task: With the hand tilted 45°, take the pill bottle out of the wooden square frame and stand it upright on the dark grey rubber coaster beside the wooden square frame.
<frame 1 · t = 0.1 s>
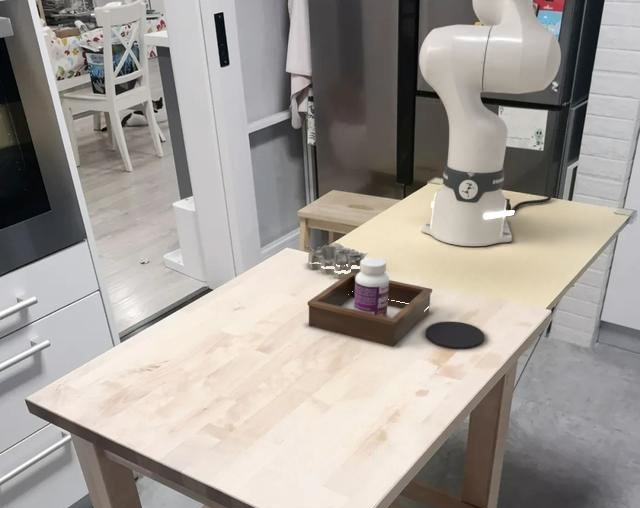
coaster: (454, 335, 111), on the table
egg carton: (335, 269, 135), on the table
pill bottle: (369, 320, 116), resting in wooden square frame
wooden square frame: (370, 319, 116), on the table
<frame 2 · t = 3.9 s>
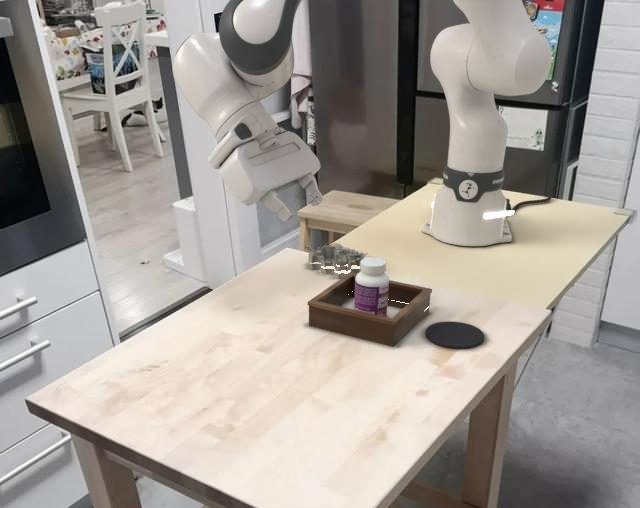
hand: (305, 210, 112), 16 cm above the table, tool tilted 45°, fingers open, 8 cm apart
nothing on the table moved.
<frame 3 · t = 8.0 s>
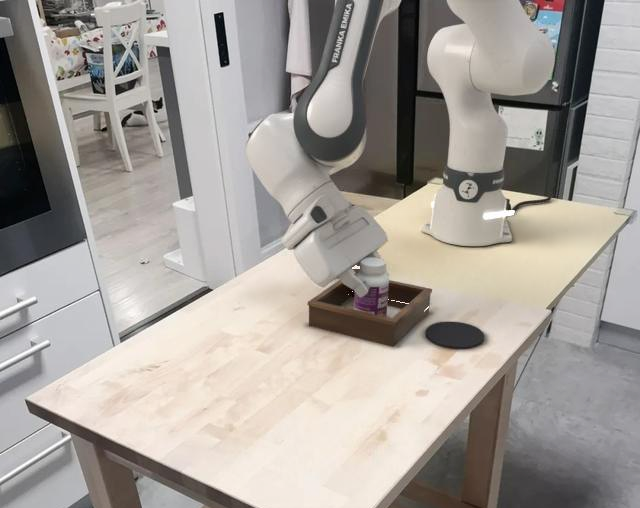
hand: (375, 287, 113), 6 cm above the table, tool tilted 45°, fingers closed on pill bottle, 5 cm apart
pill bottle: (369, 320, 116), resting in wooden square frame, touching gripper
everything else where it was.
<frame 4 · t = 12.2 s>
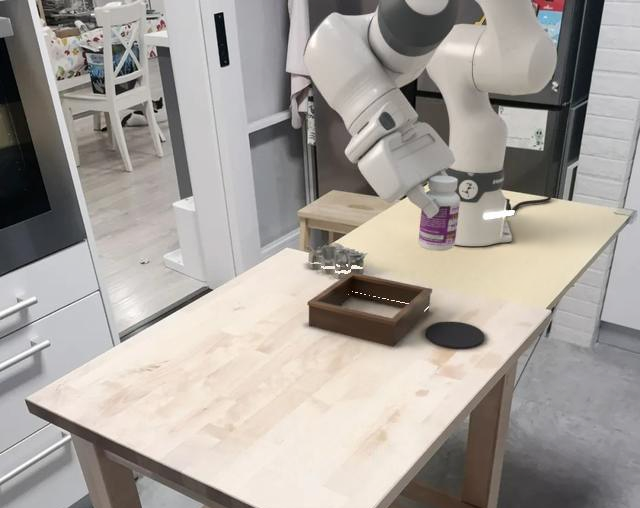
hand: (444, 208, 102), 19 cm above the table, tool tilted 45°, fingers closed on pill bottle, 5 cm apart
pill bottle: (436, 247, 105), point 13 cm above the table, touching gripper
everything else where it was.
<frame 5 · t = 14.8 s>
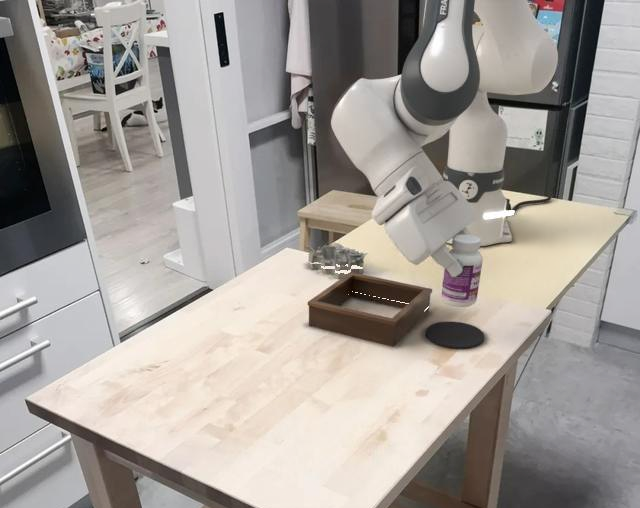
hand: (467, 266, 105), 11 cm above the table, tool tilted 45°, fingers closed on pill bottle, 5 cm apart
pill bottle: (458, 302, 108), point 6 cm above the table, touching gripper
everything else where it was.
when the fingers open (6 cm above the table, at t = 16.8 s): pill bottle stays where it is, resting on coaster.
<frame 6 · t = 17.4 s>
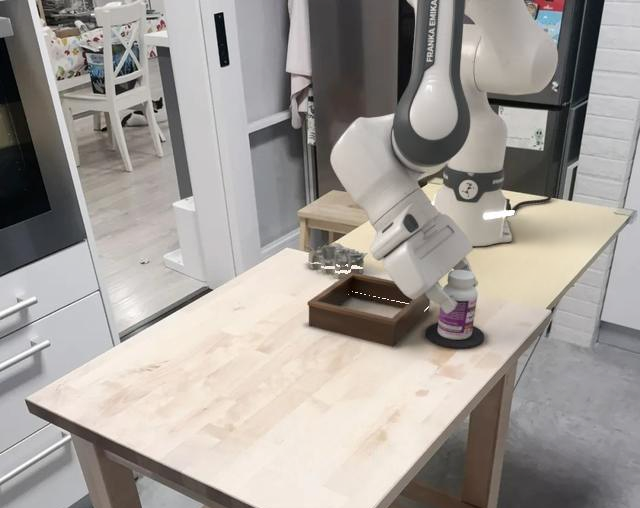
hand: (463, 298, 107), 6 cm above the table, tool tilted 45°, fingers open, 8 cm apart
pill bottle: (454, 334, 111), resting on coaster
everything else where it was.
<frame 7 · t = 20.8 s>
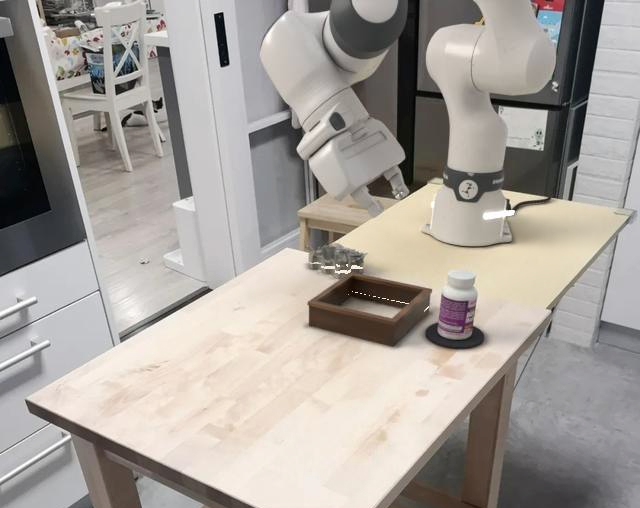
hand: (392, 205, 107), 18 cm above the table, tool tilted 40°, fingers open, 8 cm apart
nothing on the table moved.
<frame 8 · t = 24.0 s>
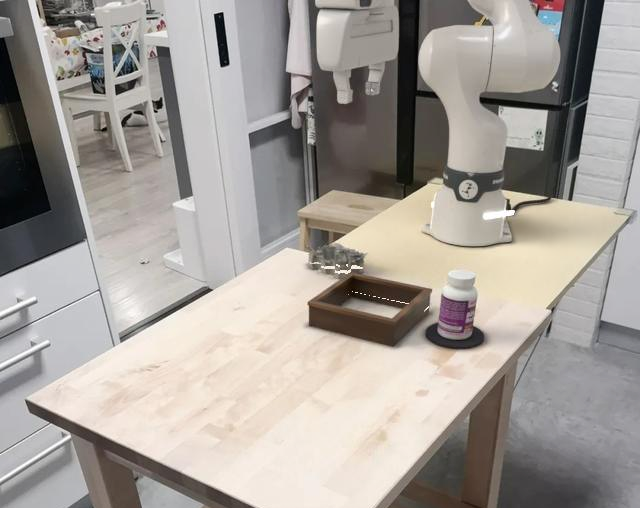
hand: (358, 98, 108), 31 cm above the table, tool pointing down, fingers open, 8 cm apart
nothing on the table moved.
at the end: pill bottle 0.1 cm off-centre on the coaster, point 0.2 cm above the coaster's base; pill bottle tilted 0°; the gripper is holding nothing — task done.
